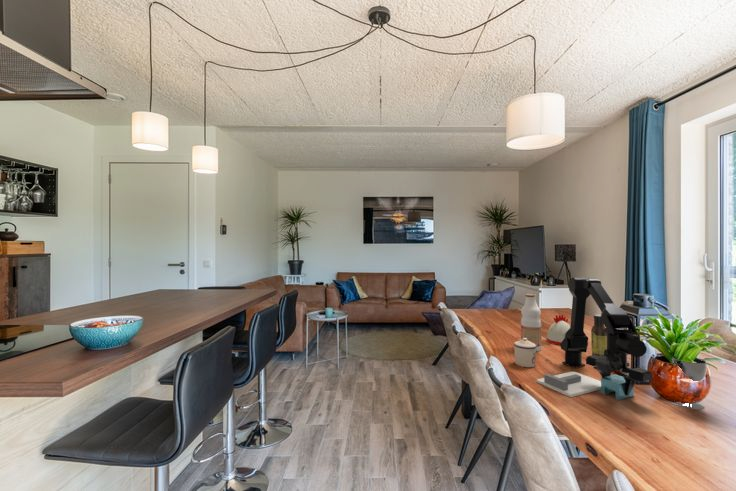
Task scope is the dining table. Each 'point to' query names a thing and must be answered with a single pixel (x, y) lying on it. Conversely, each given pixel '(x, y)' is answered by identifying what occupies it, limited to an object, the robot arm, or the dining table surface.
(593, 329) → the sauce bottle
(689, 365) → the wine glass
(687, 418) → the dining table surface
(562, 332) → the kitchen timer
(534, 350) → the teacup with lid
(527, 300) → the fruit juice
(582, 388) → the rail base plate
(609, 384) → the slotted lock block
